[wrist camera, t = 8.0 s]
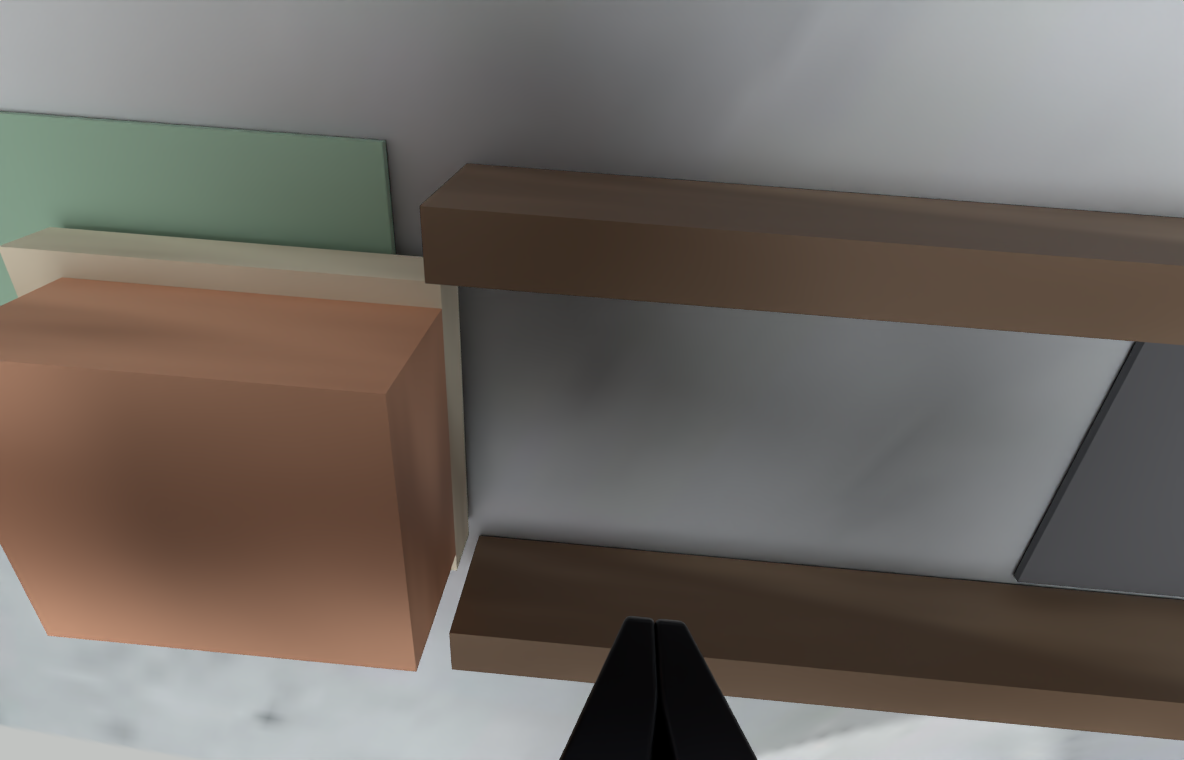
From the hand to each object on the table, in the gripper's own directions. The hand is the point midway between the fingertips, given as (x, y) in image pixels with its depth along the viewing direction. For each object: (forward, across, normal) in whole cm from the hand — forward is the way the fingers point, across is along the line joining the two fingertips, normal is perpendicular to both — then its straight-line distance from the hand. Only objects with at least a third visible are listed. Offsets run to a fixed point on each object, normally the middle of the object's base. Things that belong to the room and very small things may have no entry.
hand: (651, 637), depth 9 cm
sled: (+6, +8, 0) cm, 10 cm away
